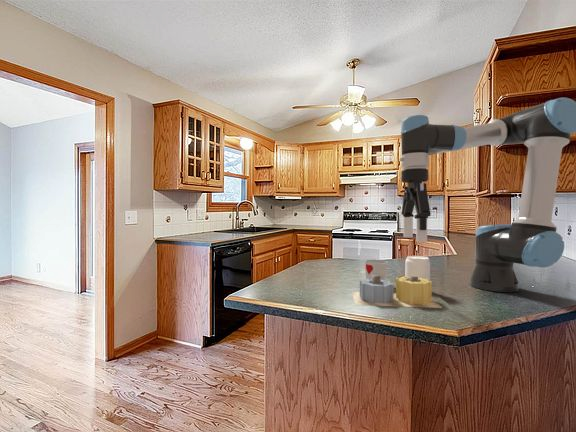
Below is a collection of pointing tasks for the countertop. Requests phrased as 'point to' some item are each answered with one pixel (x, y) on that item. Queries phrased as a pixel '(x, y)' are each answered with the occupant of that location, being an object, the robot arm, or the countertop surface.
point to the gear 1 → (376, 291)
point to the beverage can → (417, 267)
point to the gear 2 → (414, 290)
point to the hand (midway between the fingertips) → (414, 239)
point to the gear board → (377, 280)
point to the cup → (376, 268)
